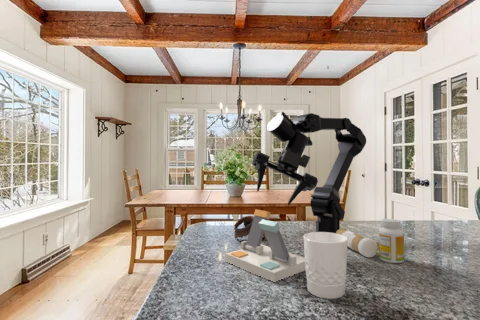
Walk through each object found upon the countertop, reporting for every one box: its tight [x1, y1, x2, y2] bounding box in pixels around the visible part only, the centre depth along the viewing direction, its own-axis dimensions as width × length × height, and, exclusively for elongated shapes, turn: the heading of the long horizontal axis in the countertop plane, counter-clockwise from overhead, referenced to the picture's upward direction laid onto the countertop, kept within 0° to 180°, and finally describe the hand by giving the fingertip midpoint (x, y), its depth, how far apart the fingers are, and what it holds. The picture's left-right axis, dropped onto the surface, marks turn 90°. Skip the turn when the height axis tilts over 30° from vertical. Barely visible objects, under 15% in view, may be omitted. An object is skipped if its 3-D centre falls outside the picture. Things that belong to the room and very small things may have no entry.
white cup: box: [303, 231, 348, 300], centre depth 52 cm, size 8×8×10 cm
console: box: [224, 240, 306, 283], centre depth 66 cm, size 12×16×4 cm
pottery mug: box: [233, 215, 267, 240], centre depth 90 cm, size 12×9×8 cm
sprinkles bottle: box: [336, 227, 379, 258], centre depth 77 cm, size 5×5×13 cm
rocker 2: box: [259, 219, 290, 263], centre depth 61 cm, size 1×4×10 cm, turn 41°
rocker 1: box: [245, 208, 272, 252], centre depth 71 cm, size 1×4×10 cm, turn 40°
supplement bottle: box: [378, 218, 405, 264], centre depth 69 cm, size 5×5×10 cm
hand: (272, 198), depth 77 cm, fingers open, 9 cm apart
